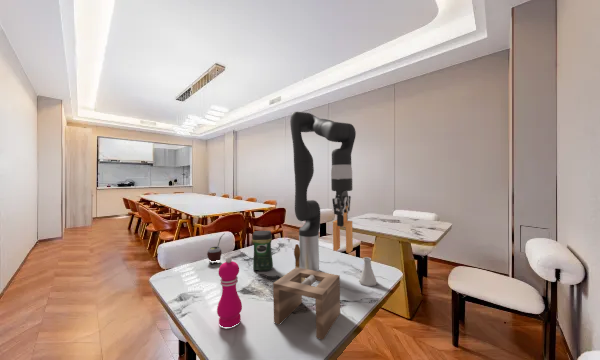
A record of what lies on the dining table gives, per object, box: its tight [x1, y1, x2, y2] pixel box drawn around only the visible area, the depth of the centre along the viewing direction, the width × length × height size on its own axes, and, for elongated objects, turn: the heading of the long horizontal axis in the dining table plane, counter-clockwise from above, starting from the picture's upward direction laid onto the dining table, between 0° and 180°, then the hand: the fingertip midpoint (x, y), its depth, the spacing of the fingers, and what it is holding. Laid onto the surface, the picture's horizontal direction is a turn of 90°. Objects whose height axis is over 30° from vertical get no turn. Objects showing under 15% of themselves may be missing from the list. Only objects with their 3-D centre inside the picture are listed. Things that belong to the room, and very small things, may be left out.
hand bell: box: [293, 243, 306, 282], centre depth 96 cm, size 8×8×16 cm
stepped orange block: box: [332, 212, 354, 254], centre depth 83 cm, size 6×4×14 cm, turn 61°
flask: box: [358, 256, 378, 287], centre depth 95 cm, size 7×7×10 cm
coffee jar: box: [251, 230, 274, 272], centre depth 112 cm, size 10×8×19 cm
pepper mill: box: [216, 256, 243, 327], centre depth 69 cm, size 7×7×20 cm
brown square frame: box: [272, 267, 341, 341], centre depth 71 cm, size 16×14×12 cm
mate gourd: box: [206, 232, 225, 261], centre depth 122 cm, size 8×8×15 cm
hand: (342, 224), depth 83 cm, fingers closed on stepped orange block, 4 cm apart
